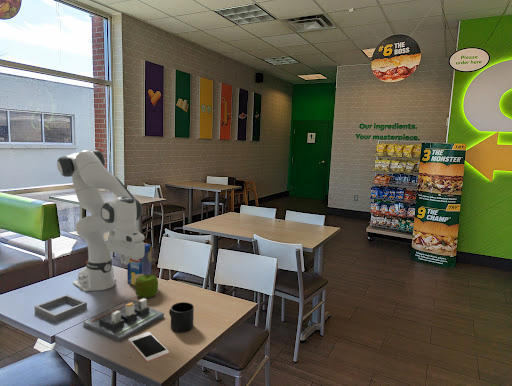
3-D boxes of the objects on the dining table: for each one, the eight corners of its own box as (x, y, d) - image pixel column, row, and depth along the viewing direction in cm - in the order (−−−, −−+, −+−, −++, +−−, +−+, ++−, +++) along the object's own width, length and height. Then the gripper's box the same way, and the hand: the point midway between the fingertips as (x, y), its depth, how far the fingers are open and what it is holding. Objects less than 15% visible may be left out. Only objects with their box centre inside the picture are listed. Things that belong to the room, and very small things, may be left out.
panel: (83, 326, 147) (83, 308, 146) (129, 304, 167) (129, 288, 166) (119, 342, 136) (119, 323, 135) (163, 317, 157) (164, 300, 156)
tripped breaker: (125, 314, 149) (125, 304, 148) (131, 312, 152) (131, 302, 151) (128, 316, 148) (128, 305, 147) (134, 313, 151) (134, 303, 150)
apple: (151, 289, 186) (151, 269, 185) (162, 295, 179) (162, 275, 177) (131, 294, 178) (131, 274, 177) (141, 302, 171) (141, 280, 169)
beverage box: (137, 278, 199) (136, 241, 196) (151, 283, 194) (151, 244, 191) (127, 282, 193) (127, 244, 190) (141, 287, 188) (141, 247, 185)
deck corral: (34, 312, 156) (34, 306, 155) (66, 300, 169) (66, 294, 168) (55, 322, 149) (54, 315, 148) (87, 308, 162) (86, 302, 161)
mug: (176, 317, 157) (177, 298, 156) (197, 325, 151) (198, 305, 150) (161, 326, 149) (161, 306, 148) (182, 335, 143) (183, 314, 142)
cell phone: (149, 333, 144) (149, 331, 144) (169, 354, 131) (169, 351, 131) (127, 340, 138) (127, 338, 138) (147, 363, 125) (147, 360, 125)
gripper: (103, 230, 156) (103, 260, 158) (136, 240, 146) (135, 271, 148) (115, 228, 161) (114, 256, 163) (147, 237, 152) (146, 267, 154)
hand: (124, 263), depth 156 cm, fingers closed
